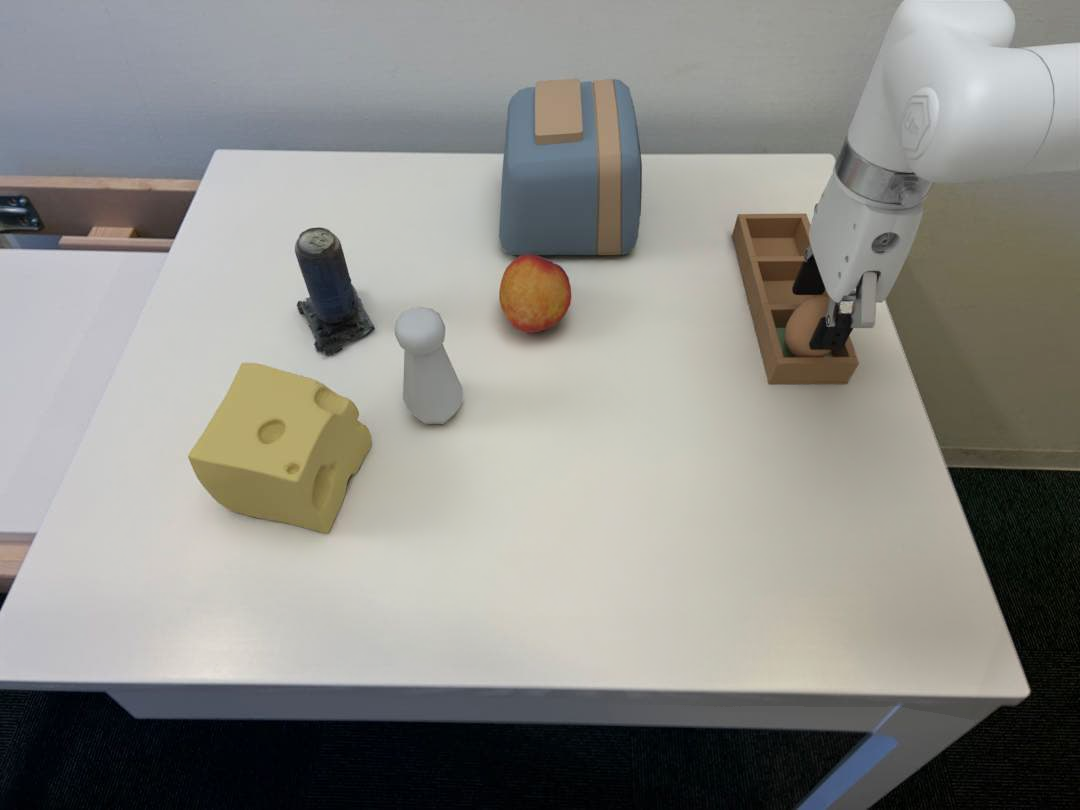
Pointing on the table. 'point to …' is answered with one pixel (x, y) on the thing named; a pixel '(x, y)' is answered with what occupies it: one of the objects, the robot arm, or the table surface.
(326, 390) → the cheese
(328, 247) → the dark blue cylinder
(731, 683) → the table surface
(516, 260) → the fruit
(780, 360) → the compartment tray
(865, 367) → the table surface
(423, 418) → the salt shaker
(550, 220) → the blue toy backpack
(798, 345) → the egg
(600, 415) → the table surface
